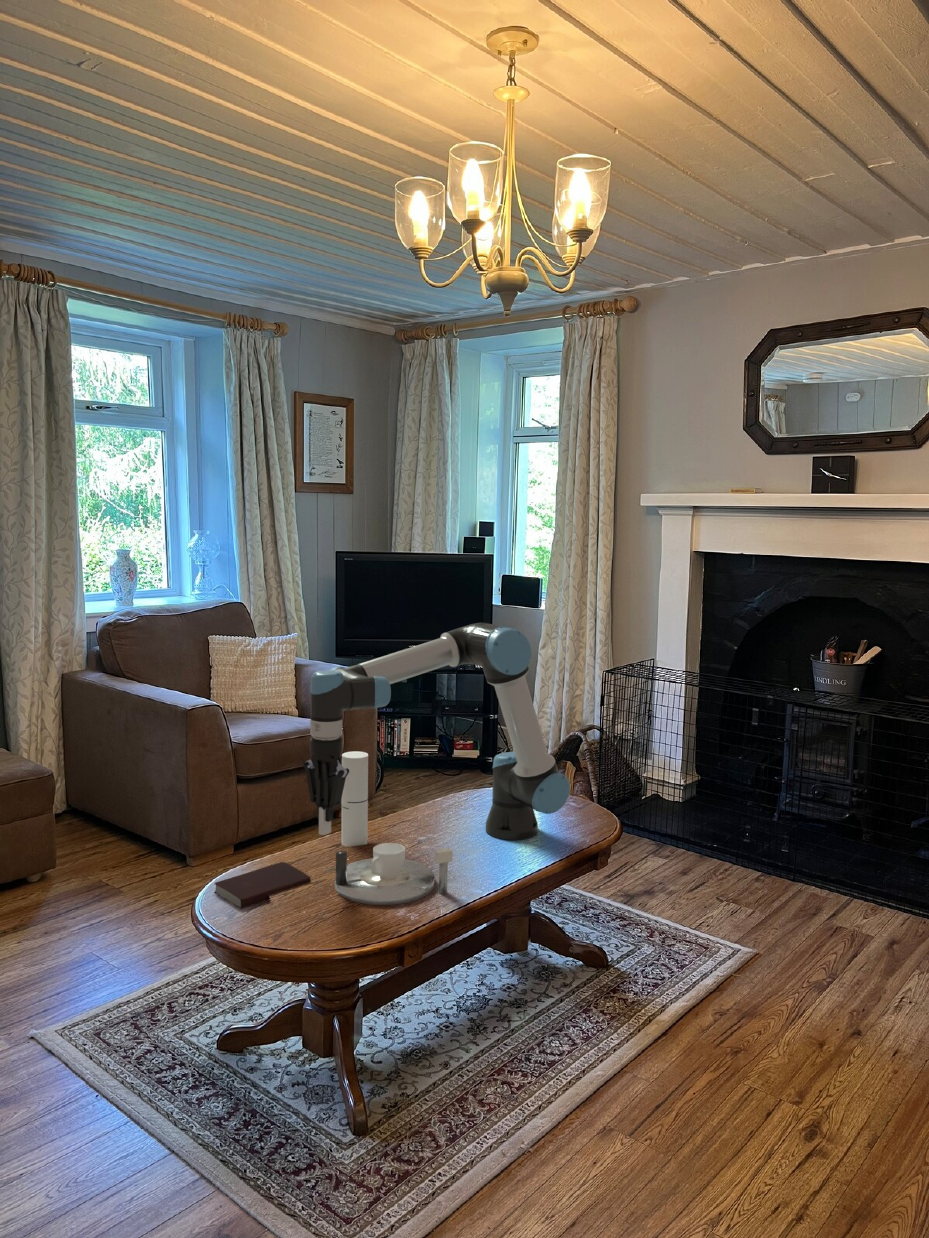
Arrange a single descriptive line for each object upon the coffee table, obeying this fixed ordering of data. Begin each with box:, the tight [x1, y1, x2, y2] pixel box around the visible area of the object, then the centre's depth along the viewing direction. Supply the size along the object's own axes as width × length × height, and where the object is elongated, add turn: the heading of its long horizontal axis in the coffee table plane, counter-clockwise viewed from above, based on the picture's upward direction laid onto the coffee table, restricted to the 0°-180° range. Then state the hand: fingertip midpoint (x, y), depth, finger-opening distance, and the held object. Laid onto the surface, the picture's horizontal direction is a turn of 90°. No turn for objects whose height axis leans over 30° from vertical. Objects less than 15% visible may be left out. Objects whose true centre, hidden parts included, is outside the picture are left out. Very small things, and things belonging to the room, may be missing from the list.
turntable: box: [334, 850, 435, 906], centre depth 216 cm, size 24×24×10 cm
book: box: [213, 861, 312, 909], centre depth 215 cm, size 12×19×3 cm, turn 135°
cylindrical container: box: [341, 750, 369, 848], centre depth 246 cm, size 7×7×25 cm
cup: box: [371, 842, 406, 879], centre depth 216 cm, size 8×10×7 cm
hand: (324, 833), depth 213 cm, fingers closed
